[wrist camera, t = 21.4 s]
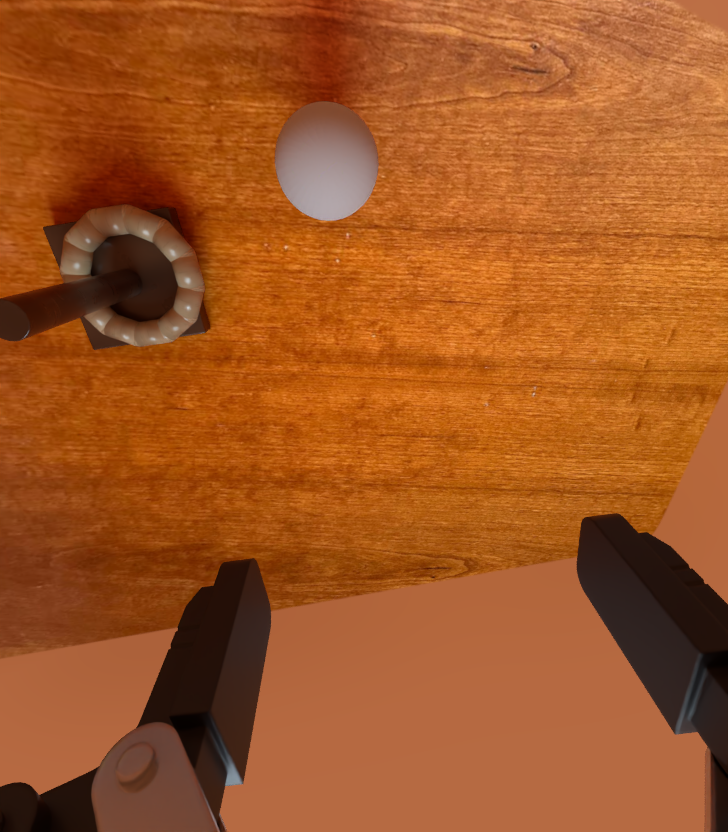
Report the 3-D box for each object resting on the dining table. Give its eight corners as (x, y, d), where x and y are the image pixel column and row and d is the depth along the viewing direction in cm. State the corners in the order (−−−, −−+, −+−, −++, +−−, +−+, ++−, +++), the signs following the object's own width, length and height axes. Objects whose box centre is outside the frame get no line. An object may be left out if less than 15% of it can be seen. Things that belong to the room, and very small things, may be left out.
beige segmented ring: (47, 217, 30) (30, 216, 28) (183, 196, 30) (174, 195, 28) (100, 349, 34) (88, 356, 33) (221, 332, 34) (215, 337, 32)
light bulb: (386, 166, 31) (406, 144, 22) (339, 237, 33) (339, 244, 24) (318, 106, 30) (309, 56, 20) (272, 184, 31) (245, 171, 22)
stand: (54, 226, 32) (-148, 232, 19) (175, 207, 32) (58, 200, 18) (102, 345, 35) (-37, 420, 22) (210, 328, 35) (135, 394, 22)
